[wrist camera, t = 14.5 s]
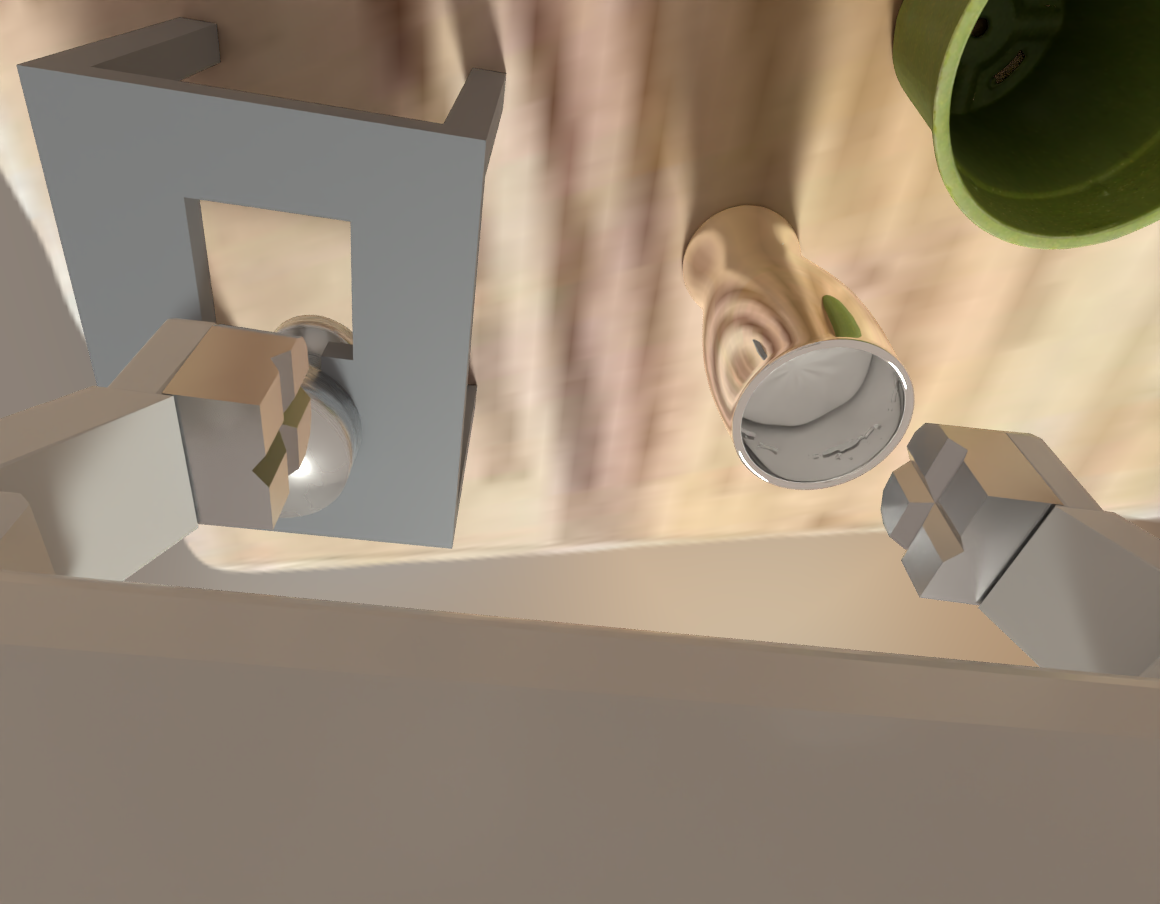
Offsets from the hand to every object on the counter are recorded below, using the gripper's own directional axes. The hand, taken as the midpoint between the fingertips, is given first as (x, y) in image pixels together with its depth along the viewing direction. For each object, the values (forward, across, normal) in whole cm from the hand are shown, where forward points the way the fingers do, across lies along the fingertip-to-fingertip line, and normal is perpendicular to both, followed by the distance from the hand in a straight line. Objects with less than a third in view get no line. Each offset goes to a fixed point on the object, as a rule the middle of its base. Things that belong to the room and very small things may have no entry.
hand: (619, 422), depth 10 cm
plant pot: (+29, -17, -3) cm, 34 cm away
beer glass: (+29, -10, +9) cm, 32 cm away
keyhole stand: (+29, +10, +11) cm, 32 cm away
